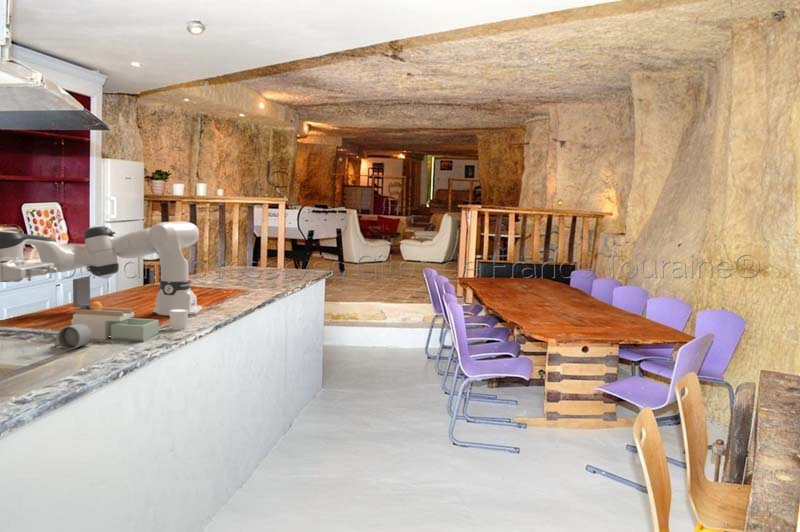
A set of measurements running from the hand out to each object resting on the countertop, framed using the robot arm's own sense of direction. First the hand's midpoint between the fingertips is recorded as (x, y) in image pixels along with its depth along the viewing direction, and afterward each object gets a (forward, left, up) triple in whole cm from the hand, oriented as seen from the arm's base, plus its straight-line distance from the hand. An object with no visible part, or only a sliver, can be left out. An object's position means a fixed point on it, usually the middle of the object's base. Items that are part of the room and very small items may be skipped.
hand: (50, 271), depth 229 cm
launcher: (0, +20, -22) cm, 29 cm away
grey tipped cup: (+18, +18, -22) cm, 34 cm away
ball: (0, +17, -12) cm, 20 cm away
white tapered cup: (-18, +39, -22) cm, 48 cm away
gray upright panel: (0, +13, -14) cm, 19 cm away
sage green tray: (0, +31, -22) cm, 38 cm away
